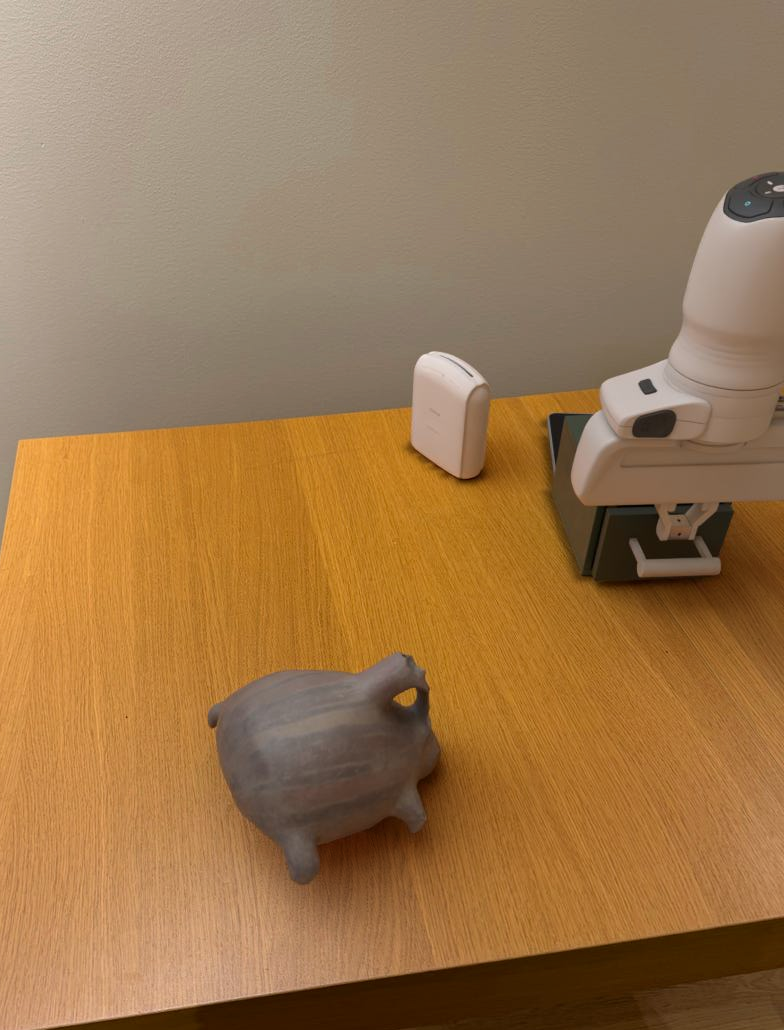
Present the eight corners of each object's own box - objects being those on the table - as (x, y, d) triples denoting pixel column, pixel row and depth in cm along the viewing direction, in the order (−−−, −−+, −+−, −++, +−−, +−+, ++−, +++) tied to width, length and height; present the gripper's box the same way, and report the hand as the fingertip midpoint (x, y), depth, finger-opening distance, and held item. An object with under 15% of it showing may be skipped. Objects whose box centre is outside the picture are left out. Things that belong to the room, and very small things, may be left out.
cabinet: (708, 571, 91) (736, 490, 85) (581, 575, 91) (599, 495, 85) (664, 489, 102) (686, 411, 95) (550, 493, 102) (564, 415, 96)
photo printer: (404, 445, 110) (409, 348, 102) (433, 434, 112) (440, 338, 103) (459, 484, 104) (468, 384, 95) (488, 473, 105) (500, 373, 97)
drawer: (729, 611, 86) (755, 544, 80) (607, 615, 86) (624, 548, 80) (669, 498, 99) (687, 434, 94) (563, 501, 99) (575, 438, 94)
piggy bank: (408, 678, 80) (462, 631, 67) (441, 866, 76) (505, 856, 62) (202, 699, 76) (215, 653, 63) (224, 897, 72) (243, 893, 59)
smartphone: (555, 481, 102) (547, 412, 113) (554, 488, 103) (545, 418, 113) (624, 484, 101) (609, 414, 112) (622, 491, 102) (607, 420, 113)
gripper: (829, 375, 76) (775, 513, 86) (582, 382, 76) (555, 519, 86) (864, 413, 71) (803, 554, 81) (601, 421, 72) (570, 560, 81)
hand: (674, 536), depth 83 cm, fingers closed
